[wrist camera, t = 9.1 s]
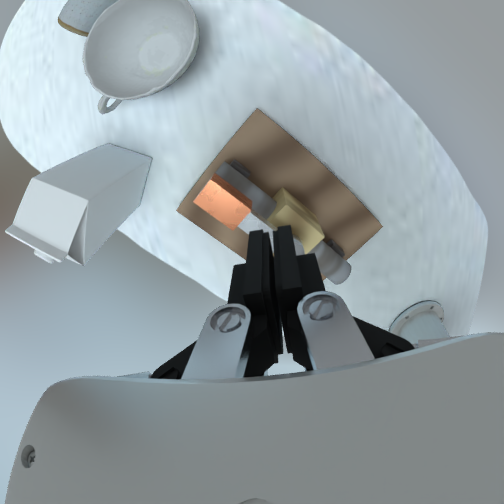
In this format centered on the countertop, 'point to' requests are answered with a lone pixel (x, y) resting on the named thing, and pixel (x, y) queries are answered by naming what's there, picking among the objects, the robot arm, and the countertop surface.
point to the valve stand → (286, 196)
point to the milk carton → (80, 203)
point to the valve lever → (235, 209)
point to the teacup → (139, 48)
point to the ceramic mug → (82, 14)
